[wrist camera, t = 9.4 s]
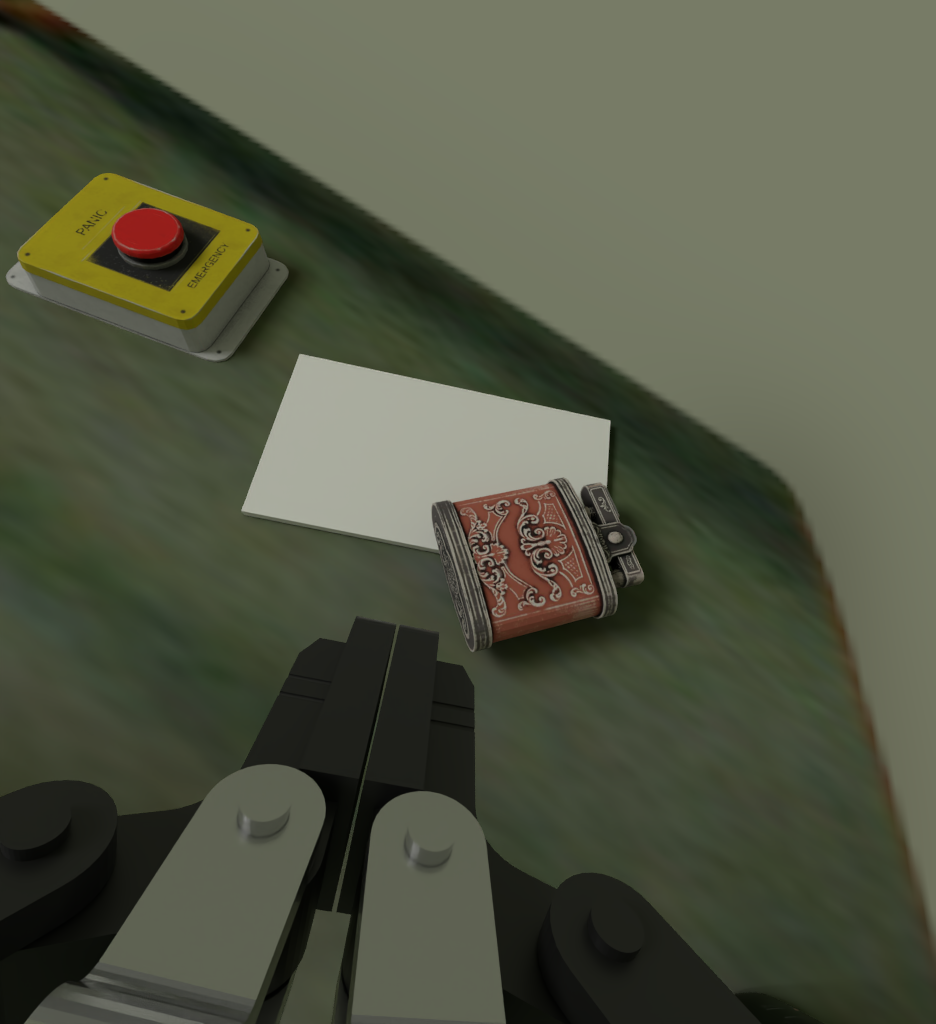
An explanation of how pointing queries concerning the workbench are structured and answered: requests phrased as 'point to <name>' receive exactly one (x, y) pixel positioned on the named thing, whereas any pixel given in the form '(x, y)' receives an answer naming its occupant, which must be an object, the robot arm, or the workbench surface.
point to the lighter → (533, 559)
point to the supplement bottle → (774, 1010)
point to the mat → (408, 452)
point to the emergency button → (152, 267)
